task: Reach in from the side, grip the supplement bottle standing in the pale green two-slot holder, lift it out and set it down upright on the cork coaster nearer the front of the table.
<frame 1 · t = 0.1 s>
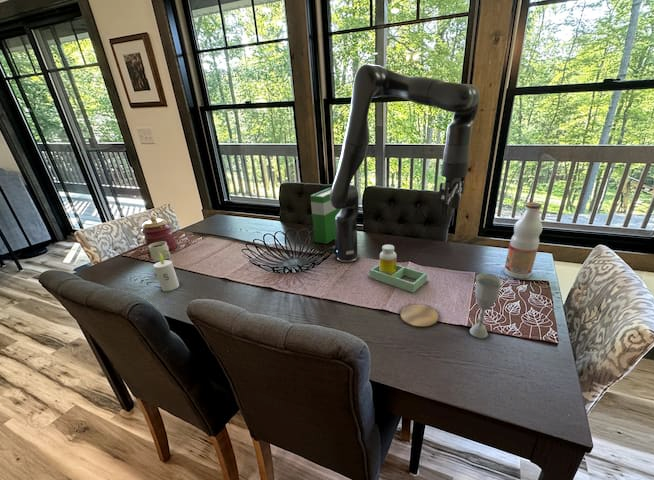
hand: (449, 211, 102), 29 cm above the table, tool pointing down, fingers open, 8 cm apart
coaster: (419, 315, 101), on the table
kitchen canister: (163, 249, 161), on the table
candle: (170, 287, 125), on the table
fruit juice: (516, 274, 123), on the table
character mug: (166, 272, 138), on the table
holder: (397, 279, 123), on the table
chalice: (478, 333, 93), on the table
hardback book: (329, 237, 167), on the table
supplement bottle: (387, 276, 126), resting in holder
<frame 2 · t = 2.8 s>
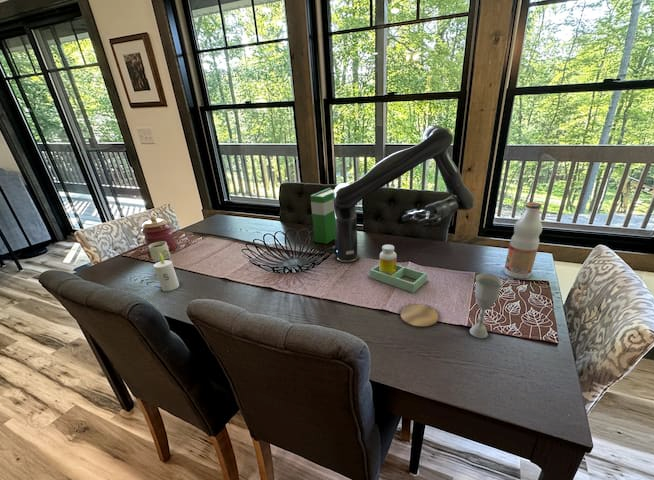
hand: (410, 221, 123), 20 cm above the table, tool horizontal, fingers open, 8 cm apart
nothing on the table moved.
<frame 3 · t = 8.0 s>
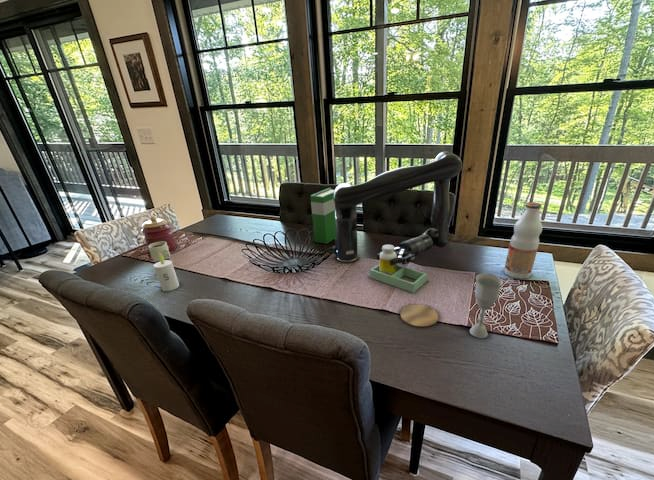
hand: (383, 259, 121), 8 cm above the table, tool horizontal, fingers closed on supplement bottle, 6 cm apart
supplement bottle: (387, 276, 126), resting in holder, touching gripper
everything else where it was.
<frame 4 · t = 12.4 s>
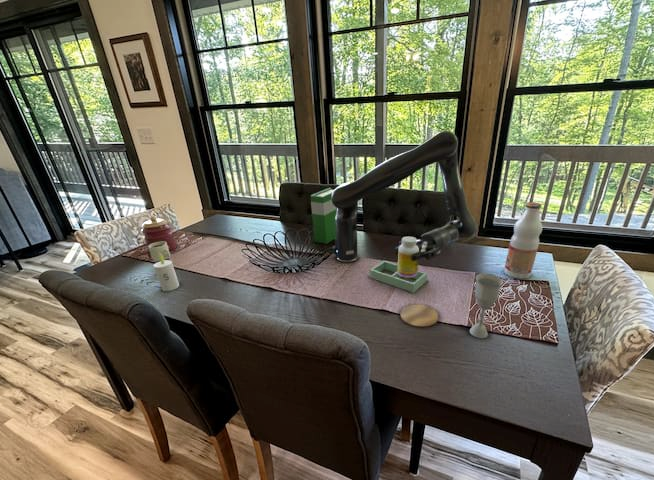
hand: (403, 254, 101), 18 cm above the table, tool horizontal, fingers closed on supplement bottle, 6 cm apart
supplement bottle: (407, 274, 107), point 10 cm above the table, touching gripper
everything else where it was.
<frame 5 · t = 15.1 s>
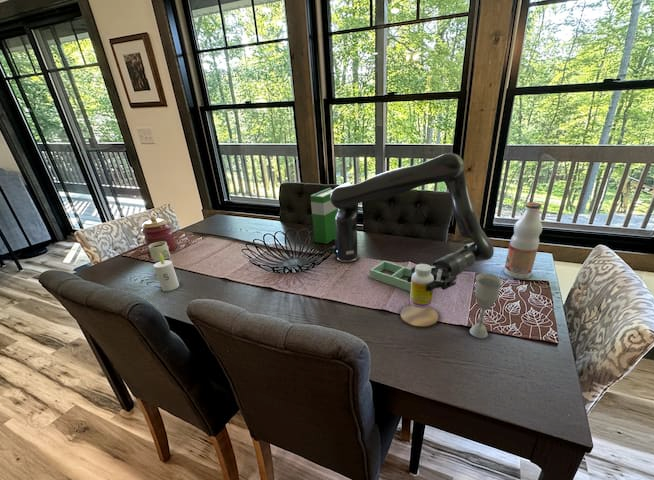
hand: (417, 283, 94), 13 cm above the table, tool horizontal, fingers closed on supplement bottle, 6 cm apart
supplement bottle: (420, 303, 99), point 5 cm above the table, touching gripper
everything else where it was.
when the fingers open (8 cm above the table, at t = 17.0 s): supplement bottle stays where it is, resting on coaster.
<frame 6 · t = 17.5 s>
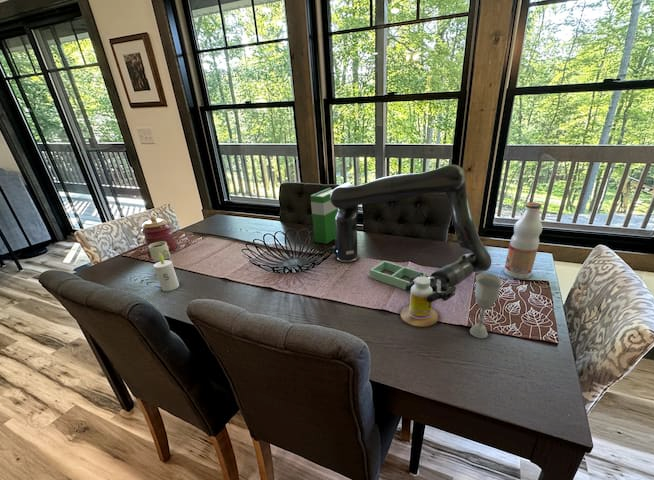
hand: (417, 294, 96), 9 cm above the table, tool horizontal, fingers open, 8 cm apart
supplement bottle: (419, 315, 101), resting on coaster
everything else where it was.
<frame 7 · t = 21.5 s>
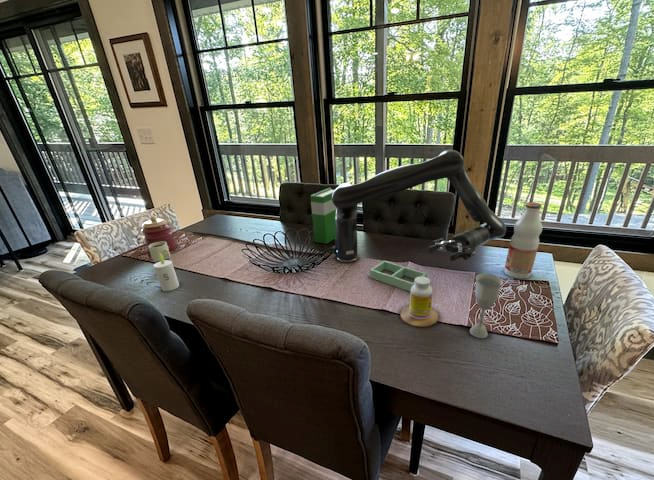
hand: (440, 254, 105), 16 cm above the table, tool horizontal, fingers open, 8 cm apart
nothing on the table moved.
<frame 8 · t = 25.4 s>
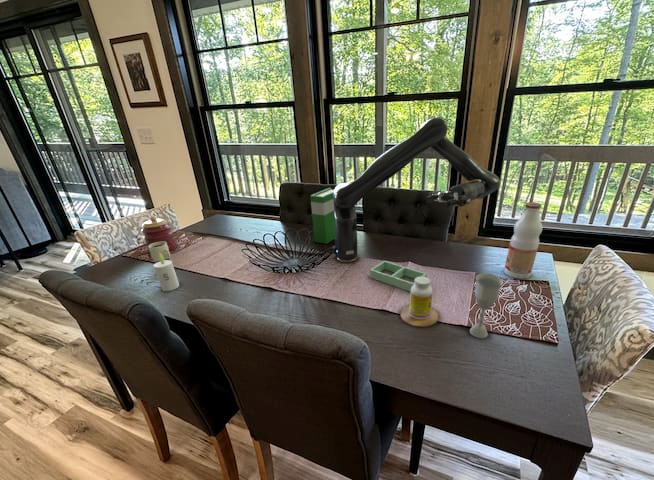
hand: (436, 202, 110), 30 cm above the table, tool horizontal, fingers open, 8 cm apart
nothing on the table moved.
at the end: supplement bottle inside the target area on the coaster (0.2 cm from its centre), point 0.2 cm above the coaster's base; supplement bottle tilted 0°; the gripper is holding nothing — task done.
